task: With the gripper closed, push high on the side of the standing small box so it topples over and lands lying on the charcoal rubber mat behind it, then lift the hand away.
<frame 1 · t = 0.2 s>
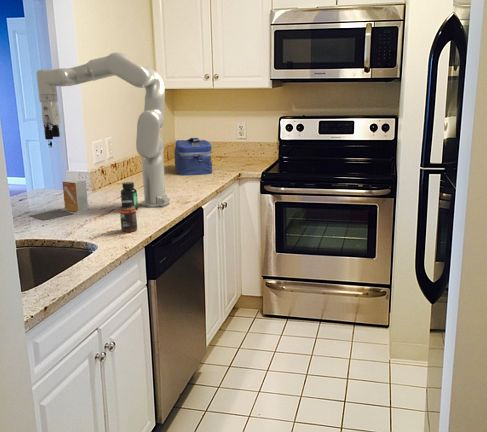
hand: (52, 138, 248), 31 cm above the worktop, tool pointing down, fingers open, 9 cm apart
mat: (51, 214, 238), on the worktop
supplement bottle: (130, 210, 243), on the worktop
supplement bottle 2: (129, 230, 211), on the worktop
lunch bag: (194, 171, 336), on the worktop
small box: (76, 210, 246), on the worktop
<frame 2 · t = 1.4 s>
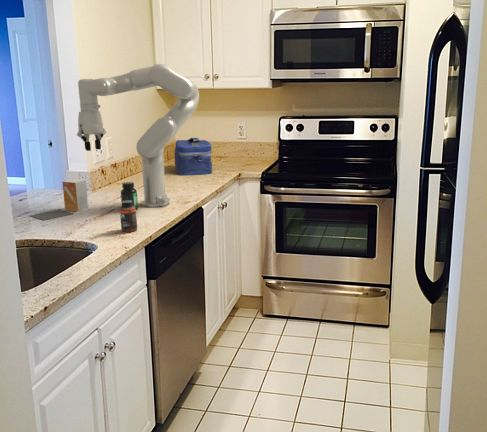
hand: (93, 149, 248), 25 cm above the worktop, tool pointing down, fingers open, 4 cm apart
nothing on the worktop moved.
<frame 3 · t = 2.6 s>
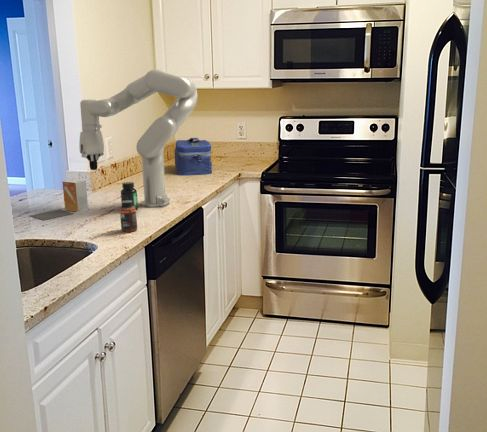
hand: (93, 169, 250), 16 cm above the worktop, tool pointing down, fingers closed
nothing on the worktop moved.
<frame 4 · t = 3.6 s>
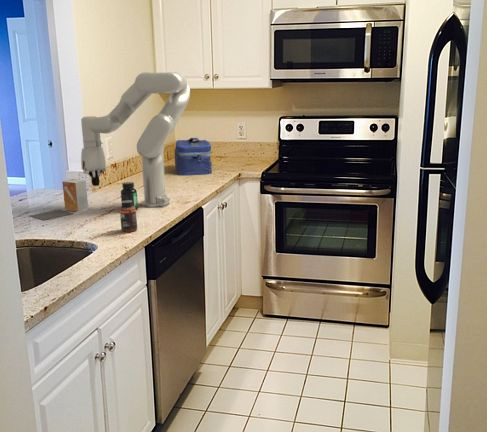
hand: (95, 185, 252), 9 cm above the worktop, tool pointing down, fingers closed
nothing on the worktop moved.
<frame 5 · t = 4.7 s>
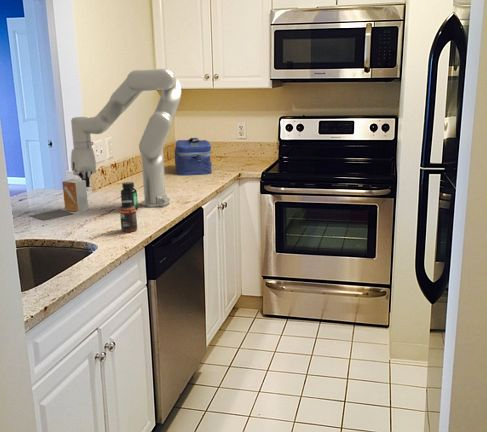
hand: (86, 186, 248), 9 cm above the worktop, tool pointing down, fingers closed
small box: (76, 210, 246), on the worktop, touching gripper
everything else where it was.
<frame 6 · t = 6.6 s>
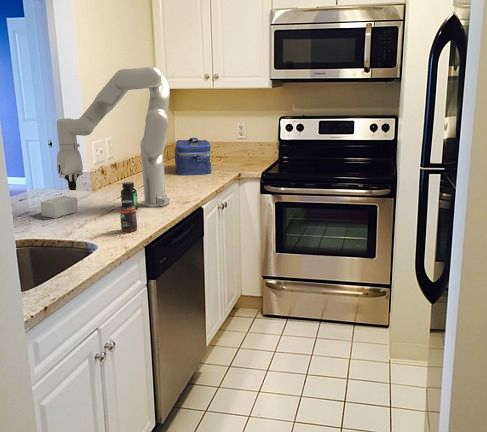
hand: (72, 189, 243), 9 cm above the worktop, tool pointing down, fingers closed
small box: (71, 203, 243), point 3 cm above the worktop, touching mat
everything else where it was.
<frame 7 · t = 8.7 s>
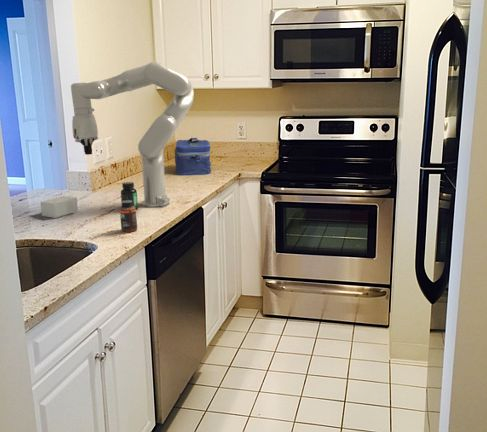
hand: (88, 154, 246), 24 cm above the worktop, tool pointing down, fingers closed
nothing on the worktop moved.
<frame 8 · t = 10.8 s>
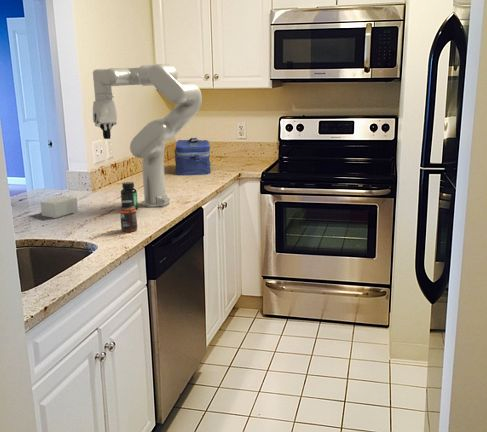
hand: (107, 138, 255), 29 cm above the worktop, tool pointing down, fingers closed
nothing on the worktop moved.
at the end: small box tilted 89°; small box inside the target area (7.3 cm from its centre), point 3.3 cm above the worktop; small box moved 4.3 cm from its start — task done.
